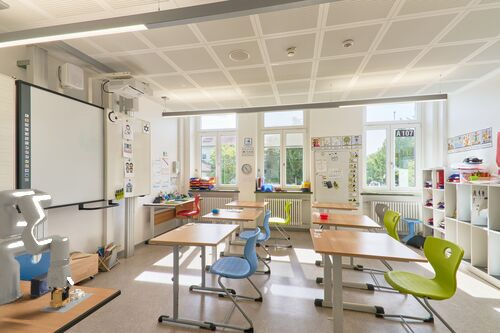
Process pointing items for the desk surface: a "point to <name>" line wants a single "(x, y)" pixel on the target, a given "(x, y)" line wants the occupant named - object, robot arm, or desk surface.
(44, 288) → the small box
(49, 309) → the gear board
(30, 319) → the desk surface
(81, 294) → the cream gear
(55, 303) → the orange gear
